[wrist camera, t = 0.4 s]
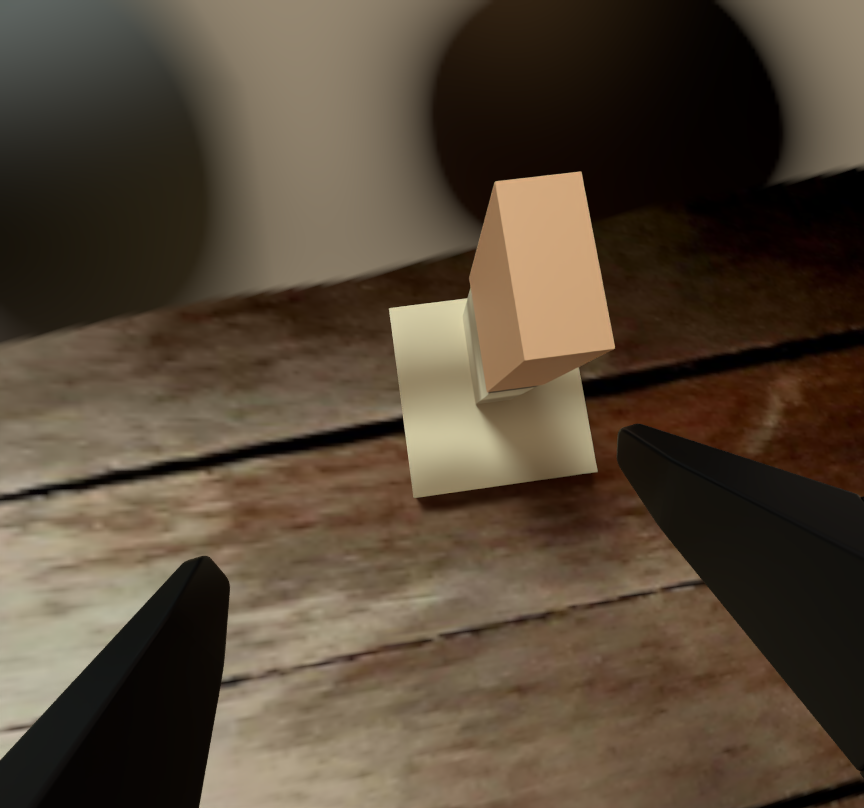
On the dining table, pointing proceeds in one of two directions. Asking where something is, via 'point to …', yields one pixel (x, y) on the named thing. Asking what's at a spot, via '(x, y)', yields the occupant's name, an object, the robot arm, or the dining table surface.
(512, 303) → the peach rectangular post
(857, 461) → the dining table surface
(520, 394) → the cream square base plate
